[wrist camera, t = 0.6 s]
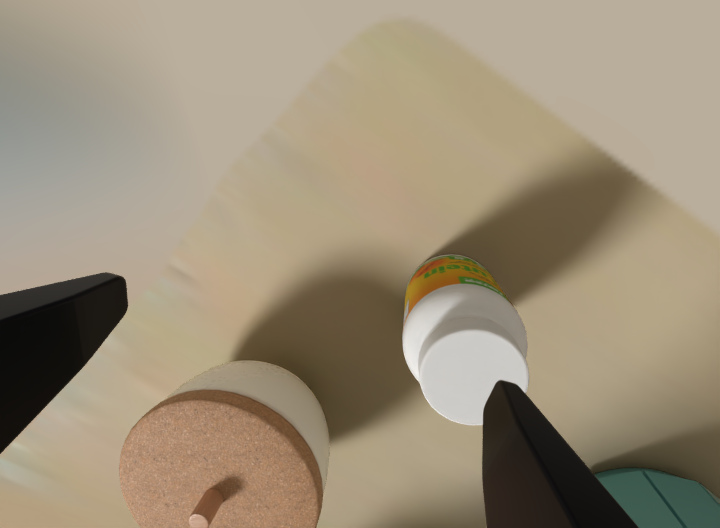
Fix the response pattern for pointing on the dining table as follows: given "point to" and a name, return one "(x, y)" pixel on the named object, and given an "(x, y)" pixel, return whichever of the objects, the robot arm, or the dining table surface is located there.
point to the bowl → (662, 498)
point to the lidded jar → (229, 453)
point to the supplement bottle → (461, 337)
